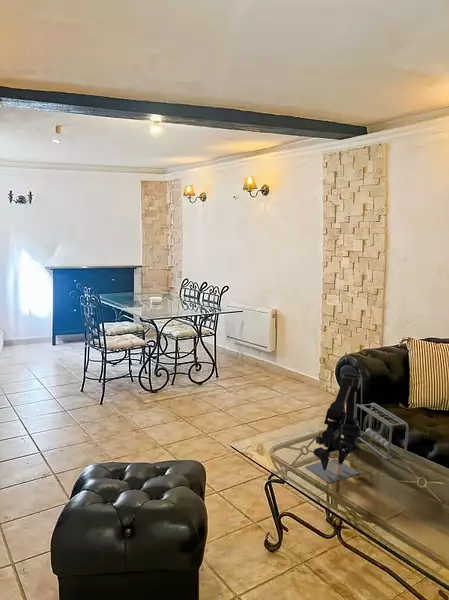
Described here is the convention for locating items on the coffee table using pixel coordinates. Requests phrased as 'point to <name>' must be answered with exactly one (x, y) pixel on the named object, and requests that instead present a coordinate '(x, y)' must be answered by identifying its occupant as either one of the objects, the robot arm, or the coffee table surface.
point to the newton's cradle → (378, 437)
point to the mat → (329, 476)
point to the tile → (333, 466)
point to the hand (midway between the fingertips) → (332, 467)
